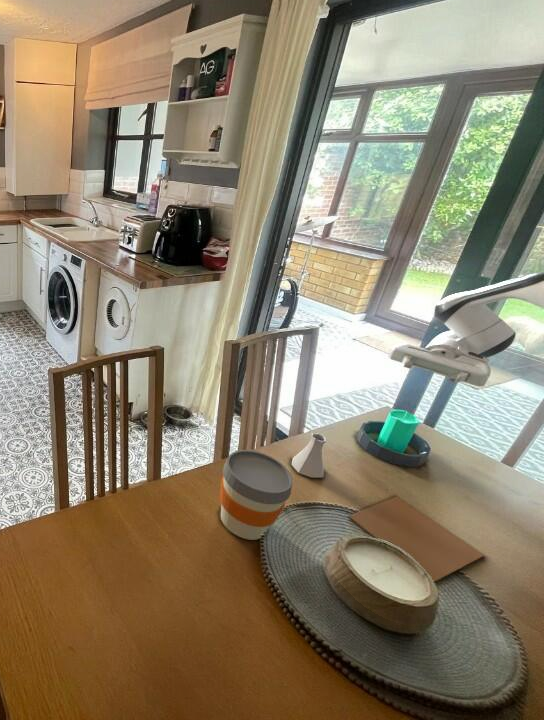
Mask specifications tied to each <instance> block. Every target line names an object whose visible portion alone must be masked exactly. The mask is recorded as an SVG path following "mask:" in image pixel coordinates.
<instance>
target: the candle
mask: <svg viewBox="0 0 544 720" xmlns="http://www.w3.org/2000/svg"><path fill="white" fill-rule="evenodd" d="M384 422H385V424H384V426H383V428H382V431H381V433H379V435H378V438H377V440H376V442H377V443H378V444H380V445H382V446H384V447H386V448H389V449H391V450H394V451H396V452H401V453H405V451H406V449H407V448H408V446H409V445H410V444H409V442H410V440H411V438H412V436H413V434H414V433H416V430H417V428H418V425H419V424H420V419H419V418H417V417H416V416H415V414H412V413H411V412H409V411H407V410H406V409H405V410H404V409H391V411H389V413H388V415H387V418H386V420H385V421H384Z"/></svg>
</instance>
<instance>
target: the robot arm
mask: <svg viewBox="0 0 544 720" xmlns="http://www.w3.org/2000/svg"><path fill="white" fill-rule="evenodd" d="M507 299H515V300H520V301H524V302H527V303H530V304H532V305H535V306H537V307H539V308H541V309H543V310H544V271H541V272H536V273H531V274H527V275H521V276H519V277H515V278H510V279H507V280H504V281H500V282H497V283H493V284H489V285H487V286H482V287H479V288H476V289H472V290H466V291H462V292H457V293H453V294H451V295H448V296H446V297H444V298H443V299H441V300H439V302H437V303H436V304H435V307H434V314H433V315H434V318H436V319H437V320H438V321H439V322H441V323H442V324H443V325H445V326H446V327H447V329H449V330H447V331H444V332H441V333H440V334H438V335H436V336H435V337H434V338H432V339H431V341H430V342H429V343H428V344H427V345H426V346H425V347H421V346H417V345H413V344H410V343H403V342H401V343H399V344H395V345H394V346H393V347H391V349H390V352H389V354H388V358H389V359H390V360H392V361H395V362H398V363H402V364H403V368H406V369H412V367H415V368H417V369H420V370H424V371H427V372H429V373H434V374H437V375H440V376H444V377H447V378H450V379H449V380H448V381H449V382H451V383H454V384H458V383H466V384H468V385H471V386H476V387H484V386H485V385H486V383H487V381H488V379H489V378H490V376H491V371H492V370H491V366H490V365H489V362H490V357H493V356H495V355H498V354H499V353H502V352H504V351H505V350H506V349H508V348H509V347H510V346H511V345H512V344H513V342H514V340H515V339H516V335H517V334H516V331H515V330H514V329H513V328H512V327H511V326H510V325H509V324H507V322H505V321H504V319H502V318H500V317H499V316H498V314H496V313H495V312H494V311H493V310H492V309H491V308H490V307H489V306H487V304H491V303H496V302H499V301H503V300H507Z"/></svg>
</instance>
